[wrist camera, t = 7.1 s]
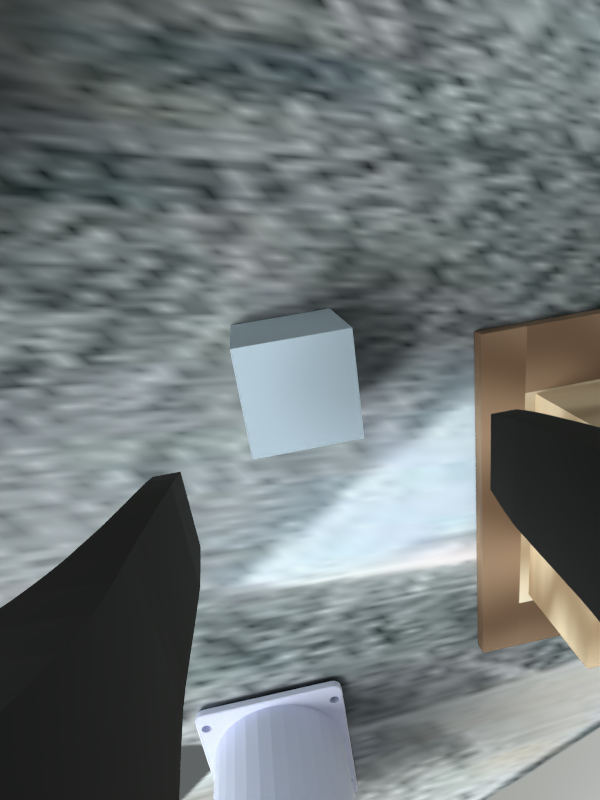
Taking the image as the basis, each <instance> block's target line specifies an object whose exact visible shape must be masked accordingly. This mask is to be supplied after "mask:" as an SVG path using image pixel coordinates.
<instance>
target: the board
mask: <svg viewBox="0 0 600 800" xmlns="http://www.w3.org/2000/svg"><path fill="white" fill-rule="evenodd" d="M474 352H475V432H476V513H477V594H478V644H479V646H480V648H481V650H482V651H483V653H484V652H489V651H493V650H498V649H502V648H506V647H511V646H515V645H520V644H524V643H529V642H533V641H537V640H542V639H546V638H551V637H555V636H559V635H560V633H559V632H558V631H557V630H556V628H555V627H554V626H553V624H552V623H551V622H550V621H549V619H548V618H547V617H546V616H545V614H544V613H543V612H542V611H541V609H540V608H539V607H538V606H537V604H536V603H535V602H534V600H533V599H532V598H531V597H530V595H529V594H528V591H529V565H530V543H529V541H528V540H527V539H526V538H525V537H524V536H523V535H522V534H521V532H520V531H519V530H518V529H517V528H516V527H515V525H514V524H513V523H512V522H511V520H510V519H509V517H508V516H507V514H506V513H505V512H504V510H503V509H502V507H501V506H500V504H499V502H498V501H497V499H496V498H495V496H494V495H493V493H492V491H491V490H490V473H491V414H493V413H499V412H504V411H509V410H515V409H519V410H527V411H533V412H535V401H536V394H537V393H542V392H548V391H553V390H558V389H563V388H569V387H574V386H579V385H585V384H590V383H595V382H600V309H597V310H591V311H586V312H580V313H575V314H569V315H564V316H558V317H552V318H547V319H541V320H536V321H530V322H525V323H519V324H513V325H508V326H502V327H497V328H491V329H485V330H480V331H474Z"/></svg>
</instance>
